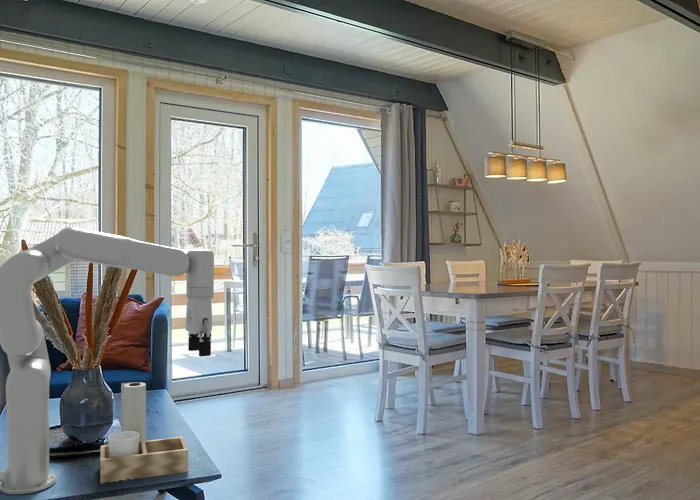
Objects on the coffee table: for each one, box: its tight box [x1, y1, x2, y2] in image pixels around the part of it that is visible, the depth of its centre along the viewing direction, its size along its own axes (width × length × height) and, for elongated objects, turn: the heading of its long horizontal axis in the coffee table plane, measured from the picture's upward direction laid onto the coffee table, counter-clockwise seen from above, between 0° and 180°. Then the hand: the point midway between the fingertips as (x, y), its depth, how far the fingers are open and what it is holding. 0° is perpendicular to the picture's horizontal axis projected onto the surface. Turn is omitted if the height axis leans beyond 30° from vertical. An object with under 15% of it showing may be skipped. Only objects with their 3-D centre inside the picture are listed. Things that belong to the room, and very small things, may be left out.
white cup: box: [107, 431, 139, 458], centre depth 163 cm, size 8×8×10 cm
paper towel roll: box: [120, 381, 147, 441], centre depth 174 cm, size 7×6×21 cm
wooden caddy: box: [99, 436, 189, 484], centre depth 165 cm, size 22×12×6 cm, turn 112°
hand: (199, 353), depth 171 cm, fingers open, 9 cm apart
